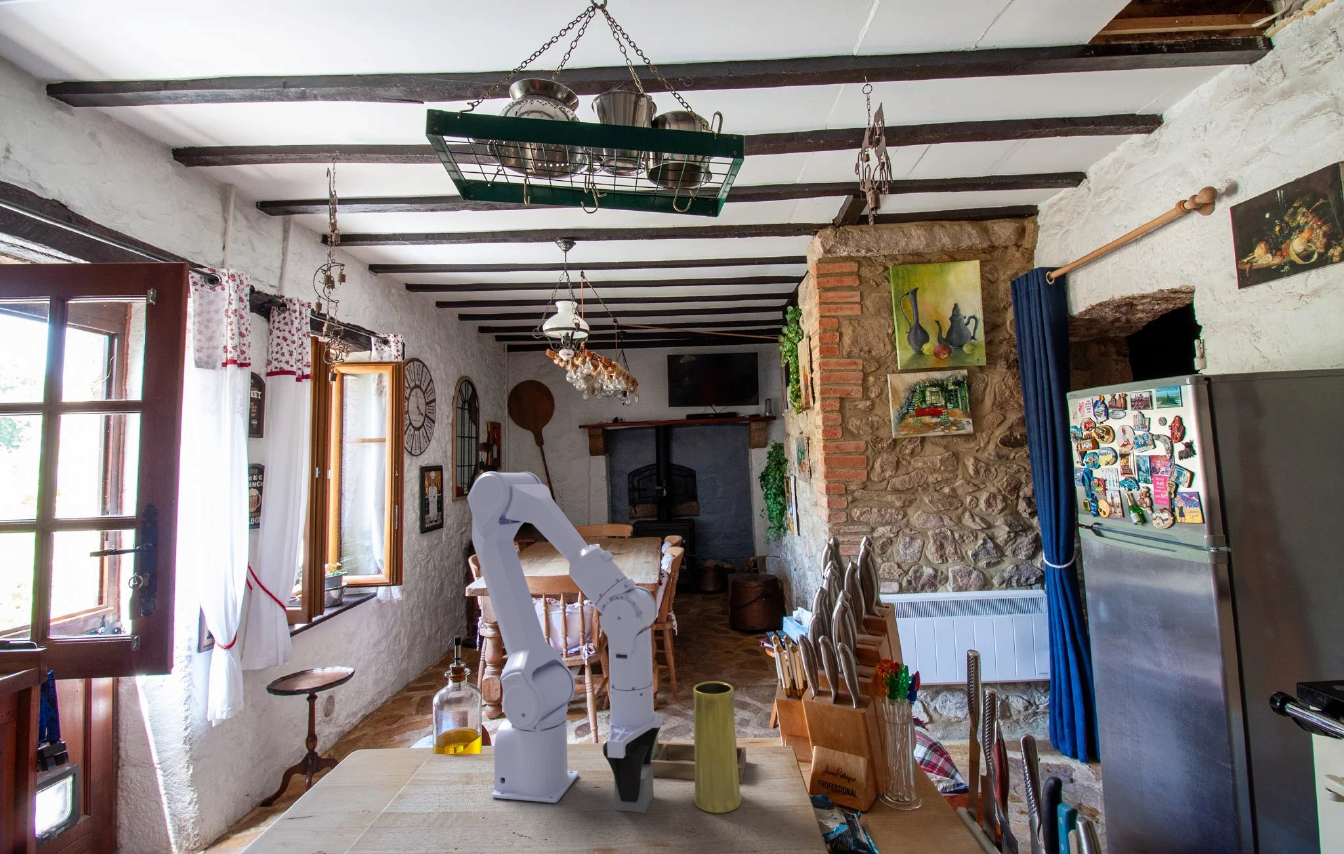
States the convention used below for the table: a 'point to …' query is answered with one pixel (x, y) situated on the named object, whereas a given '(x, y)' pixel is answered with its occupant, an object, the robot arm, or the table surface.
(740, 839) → the table surface
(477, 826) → the table surface
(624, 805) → the grey block
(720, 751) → the vase
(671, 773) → the walnut rack
